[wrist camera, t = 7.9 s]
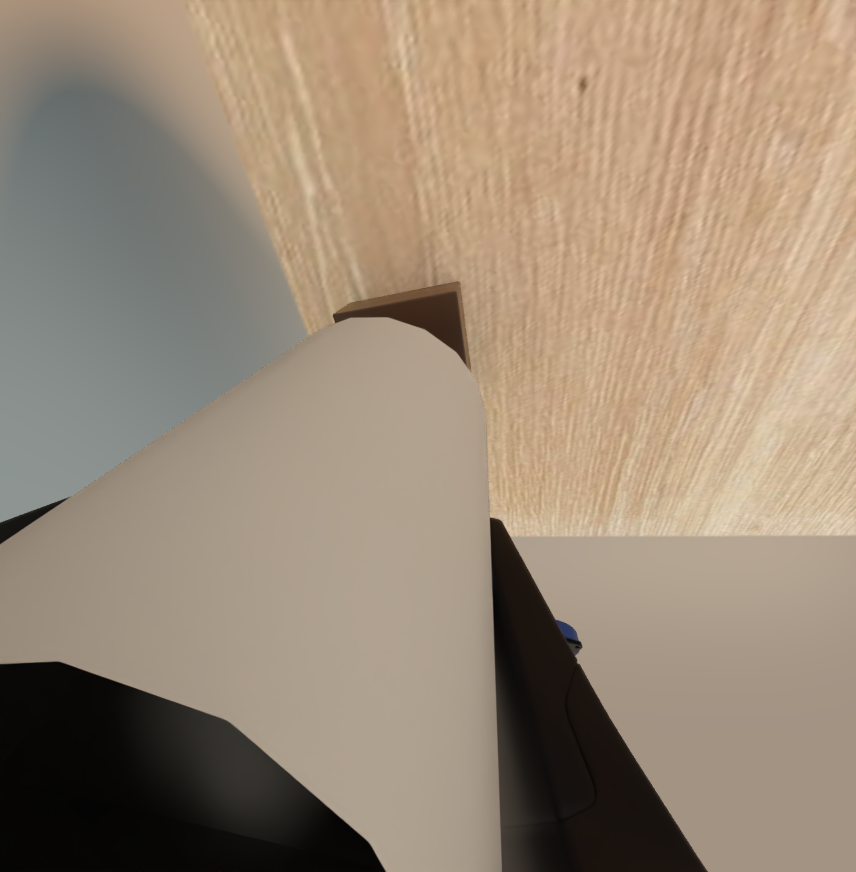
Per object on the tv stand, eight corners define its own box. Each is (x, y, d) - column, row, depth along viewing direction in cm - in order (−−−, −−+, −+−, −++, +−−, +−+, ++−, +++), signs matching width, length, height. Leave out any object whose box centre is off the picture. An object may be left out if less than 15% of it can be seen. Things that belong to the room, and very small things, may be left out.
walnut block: (473, 389, 19) (473, 410, 16) (380, 400, 20) (369, 420, 18) (459, 280, 15) (456, 290, 13) (349, 302, 17) (331, 314, 15)
